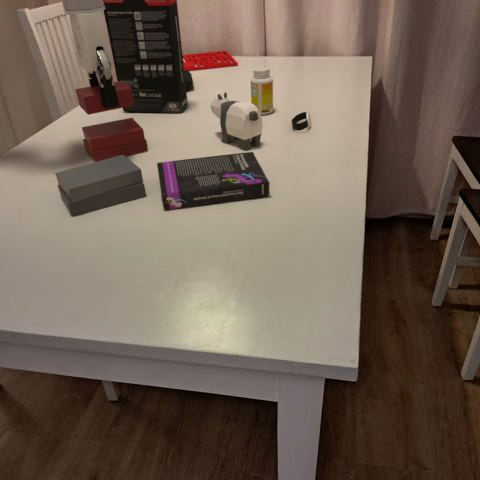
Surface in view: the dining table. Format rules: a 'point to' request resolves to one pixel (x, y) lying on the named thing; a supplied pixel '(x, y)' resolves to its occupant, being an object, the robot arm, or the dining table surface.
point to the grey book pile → (100, 184)
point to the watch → (304, 124)
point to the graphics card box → (148, 53)
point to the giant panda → (238, 121)
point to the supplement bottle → (262, 90)
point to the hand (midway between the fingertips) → (105, 101)
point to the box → (211, 180)
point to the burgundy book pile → (114, 139)
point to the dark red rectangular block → (92, 99)
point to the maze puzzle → (208, 60)
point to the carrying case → (188, 80)
